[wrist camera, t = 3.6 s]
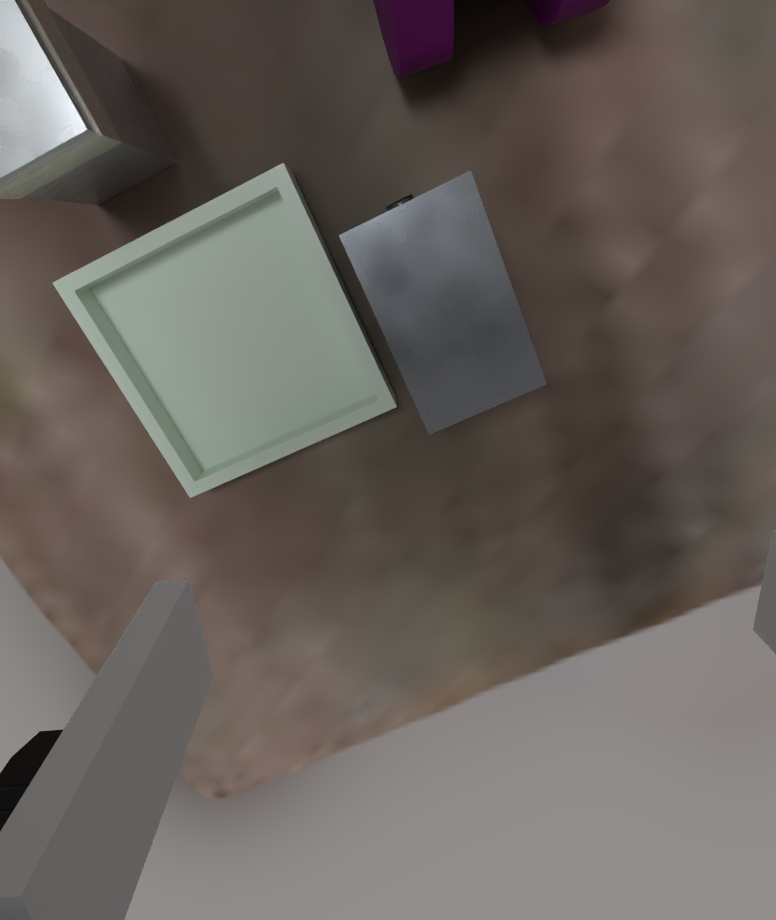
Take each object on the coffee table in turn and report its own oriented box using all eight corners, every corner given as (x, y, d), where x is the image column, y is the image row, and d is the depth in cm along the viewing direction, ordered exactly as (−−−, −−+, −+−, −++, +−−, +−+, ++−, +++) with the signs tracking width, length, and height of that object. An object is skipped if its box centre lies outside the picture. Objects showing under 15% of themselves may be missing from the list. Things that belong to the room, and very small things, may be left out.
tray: (75, 279, 32) (52, 282, 30) (290, 168, 30) (283, 162, 28) (202, 481, 37) (190, 498, 34) (395, 395, 35) (396, 407, 33)
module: (37, 106, 29) (-124, 45, 20) (124, 56, 28) (0, -31, 19) (97, 207, 31) (-25, 195, 22) (180, 163, 30) (91, 131, 21)
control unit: (348, 231, 31) (336, 228, 22) (441, 185, 31) (468, 163, 21) (417, 385, 35) (431, 440, 25) (502, 347, 34) (549, 390, 25)
